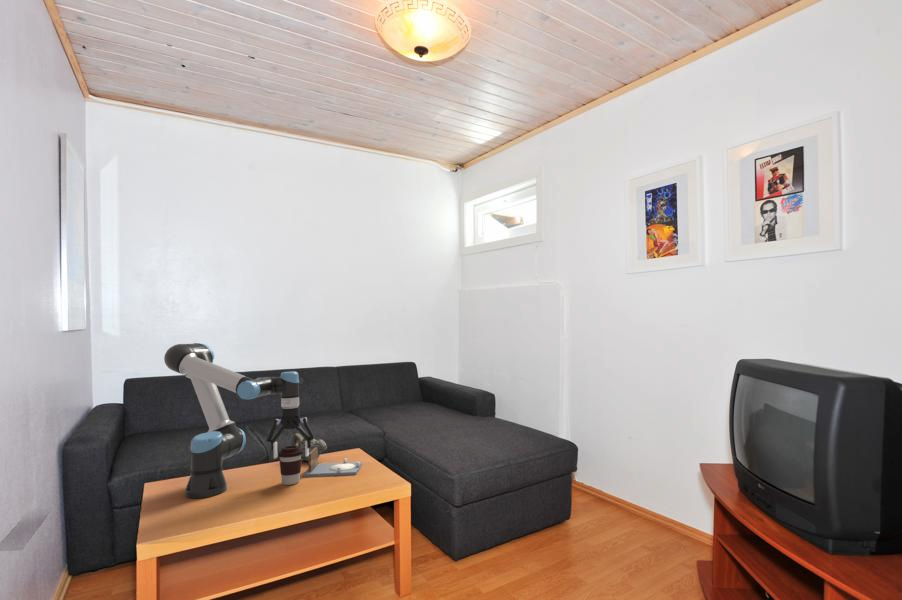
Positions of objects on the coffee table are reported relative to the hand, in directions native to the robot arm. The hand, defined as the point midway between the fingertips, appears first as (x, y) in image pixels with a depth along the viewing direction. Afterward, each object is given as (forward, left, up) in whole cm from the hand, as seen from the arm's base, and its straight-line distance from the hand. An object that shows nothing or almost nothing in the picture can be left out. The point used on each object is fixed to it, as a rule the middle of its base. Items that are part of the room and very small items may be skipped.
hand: (291, 456), depth 201 cm
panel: (+4, +16, -9) cm, 19 cm away
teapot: (-2, +36, -11) cm, 38 cm away
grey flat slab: (+15, +16, -11) cm, 24 cm away
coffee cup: (0, 0, -11) cm, 11 cm away
